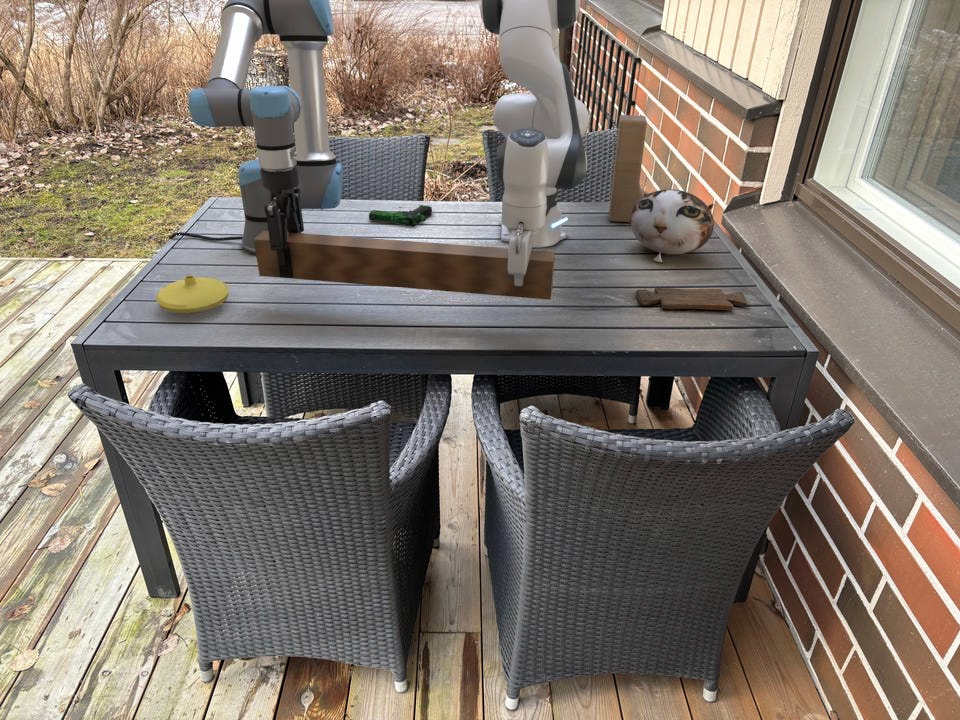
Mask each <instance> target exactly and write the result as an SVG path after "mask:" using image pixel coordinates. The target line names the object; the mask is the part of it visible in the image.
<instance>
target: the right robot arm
mask: <svg viewBox="0 0 960 720" xmlns="http://www.w3.org/2000/svg"><path fill="white" fill-rule="evenodd" d="M581 1H582V0H480V5H479V7H480V8H479V11H480V17H481V20H482V23H483V24H484V28H485V29H486V30H487V31H488V32H489V33H490V34H493V35H498V54H499V62H500V63H499V64H500V67H501V69H502V71H503V72H504V74H505V75H506V76H507V77H508V78H509V79H510V80H511V81H512V82H514V83H515V84H517V85H519V86H520V87H522V88H524V89H526V90H527V91H529V92H530V93H531V94H529V93H522V92H521V93H519V92H518V93H511V94H504V95H502V96H501V97H500V98H498V100H497V101H496V103H495V105H494V107H493V111H492V112H493V113H492V118H493V123H494V125H495V128H496V129H497V131H498V132H499V133H500V134H502V136H503V137H504V138H505V139H506V140H505V141H504V142H502V143H501V145H499V147H498V148H497V149H496V153H495V154H496V159H497V160H496V165H497V166H496V173H495V178H496V179H497V180H498V181H499V182H500V183H501V184H502V185H503V186H504V191H503V194H502V199H501V228H500V229H501V230H500V232H501V233H500V241H502V242H505V243H508V248H509V251H508V274H510V275H514V285H516V286H522V285H523V281H524V275H525V274H526V270H527V266H528V262H529V259H530V255H531V251H532V250H533V248H547V247H551V246H554V245H556V244H558V243H559V242H560V241H561V240H565V239H566V238H567V234H566V233H565V232H564V231H563V230H562V224H563V223H565V222H566V221H568V217H565V218H563V219H562V216H563V213H562V209H561V208H560V207H559V206H558V200H559V191H558V189H559V190H560V189H561V190H569V191H571V190H572V189H574V188H576V187H577V186H578V185H579V184H581V183H582V182H583V181H584V180H585V178H586V175H587V172H588V156H587V152H586V148H585V145H584V141H583V137H584V136H585V134H586V133H587V132H588V131H587V130H588V128H589V123H590V114H589V110H588V108H587V107H586V105H585V104H584V103H583V102H582V101H581V100H579V99H578V97H576V96H575V93H574V88H573V83H572V79H571V75H570V72H569V69H568V66H567V65H566V64H565V63H563V62H561V58H560V45H559V43H560V41H559V31H561V30H565V29H569V28H570V27H572V26H574V24H575V23H576V22H577V18H578V16H579V13H580V10H581Z"/></svg>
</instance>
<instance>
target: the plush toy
mask: <svg viewBox="0 0 960 720" xmlns="http://www.w3.org/2000/svg"><path fill="white" fill-rule="evenodd" d="M649 193H650V194H648V195H647V194H644V197H643V198H641V199H640V200H639V201H638V202H637V203H636V205H635V206H634V208H633V210H632V212H631V216H630V222H629V223H630V228H631V231H632V233H633V235H634V236H635V238H636V239H637V240H638V242H639V243H641V245H643V246H644V247H646V248H648V249H649V250H651V251H654V252H656V253H658V254H657V256H656V257H654V258H653V259H652V261H654V262H658V263H663V260H662V256H661V254H663V255H668V256H669V255H670V256H671V255H672V256H680V255H685V254H690V253H693V252H695V251H697V250H698V249H700V248H702V247H703V246H704V245H706V244H707V243H708V241H709V240H710V238H711V237H712V234H713V232H714V229H715V220H714V216H713V213H712V211H711V210H712V209H713V207H714V206H715V205H714V203H711V204H709V205H707V204H706V203H705V202H704V201H703V200H702V199H701V198H699V197H698V196H696V195H694V194H692V193H691V192H687V191H684V190H680V189H674V188H673V189H671V188H669V189H668V188H667V189H659V190H656V191H652V192H649Z"/></svg>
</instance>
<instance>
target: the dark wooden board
mask: <svg viewBox="0 0 960 720" xmlns="http://www.w3.org/2000/svg"><path fill="white" fill-rule="evenodd" d="M653 291H654V292H653ZM653 291H651V290H648V289H645V288H644V289H636V290H635V294H636V299H637V301H638V303H639V306H652V305H657V304H660V305H661V308H662V310H663V309H664V310H679V309H680V310H683V309H684V310H685V309H686V310H687V309H688V310H689V309H691V310H692V309H693V310H714V311H715V310H717V311H731V310H733V309H734V306H737V307H743V308H745V307H747V304H748V303H747V299H746V297H745V294H744V293H743V292H741V291H735V292H732V293H731V292H730V293H726V294H723V293H724V292H723V289H722V288H720V289H719V288H675V287H674V288H673V287H672V288H671V287H654V289H653Z"/></svg>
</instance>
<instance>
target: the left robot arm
mask: <svg viewBox="0 0 960 720" xmlns="http://www.w3.org/2000/svg"><path fill="white" fill-rule="evenodd" d="M333 19H334V18H333V14H332V9H331V3H330V0H227V2H226V3H225V4H224V6H223V8H222V10H221V14H220V18H219V25H220V27H221V32H220V36H219V39H218V43H217V45H216V50H215V53H214V56H213V61H212V64H211V67H210V71H209V74H208V78H207V82H206V85H205V87H204V88H203V87H200V88H194V89H192V90H190V91H189V94H188V111H189V114H190V117H191V120H192V121H193V123H194V124H195V125H196V126H199V127H210V128H211V127H212V128H237V127H238V128H240V127H242V128H244V127H246V128H253V129H254V130H253V132H254V136H255V145H256V152H257V158H255V159H251V160H248V161H246V162H244V163H242V164H241V165H240V166H239V168H238V170H237V174H238V186H239V190H240V196H241V201H242V208H243V212H244V213H243V215H244V219H245V220H244V226H243V228H244V229H243V235H240V236H226V237H225V236H224V237H213V236H206V235H202V234H196V233H190V232H183V231H177V232H174V233H172V234H171V235H170V236H168V238H167V239H168V240H172V239H174V238H175V237H180V236H182V237H189V238H196V239H201V240H205V241H211V242H224V241H238V240H239V241H240V240H241V246H242V249H243V251H244V252H246V253H248V254H252V255H256V251H255V245H254V239H255V238H256V237H257V236H258V235H259V234H261V233H262V232H263V231H268V232H269V239H270V247H271V250H274V251H277V257H278V264H279V272H280V277H285V278H284V279H290V278H293V270H292V262H291V255H290V249H287V232H291V233H303V232H304V231H305V226H304V217H303V211H302V210H321V211H323V210H330V209H331V210H332V209H333V210H334V209H336V208H337V207H338V206H340V204H341V201H342V194H343V187H344V185H343V184H344V166H343V165H342V163H339V162H338V163H337V156H336V155H335V154H334V153H333V152H332V151H331V149H330V135H329V122H328V121H329V120H328V109H327V95H326V81H325V68H324V55H323V51H324V49H325V48H326V47H327V46H328V44H329V37H330V36H332V35H334V32H335V31H334V29H335V28H334V20H333ZM265 35H277V36H278V37H279V44H280V45H281V46H282V47H283V48H284V49H285V50H286V56H287V67H288V77H289V86H287V85H261V86H257V87H254V88H245V87H246V82H247V78H248V75H249V71H250V65H251V62H252V57H253V55H254V51H255V50H254V49H255V47H256V43H257V42H258V41H260V39H261V38H262V36H265ZM328 36H329V37H328ZM178 232H179V233H178ZM179 234H180V235H179ZM176 235H177V236H176Z"/></svg>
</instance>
